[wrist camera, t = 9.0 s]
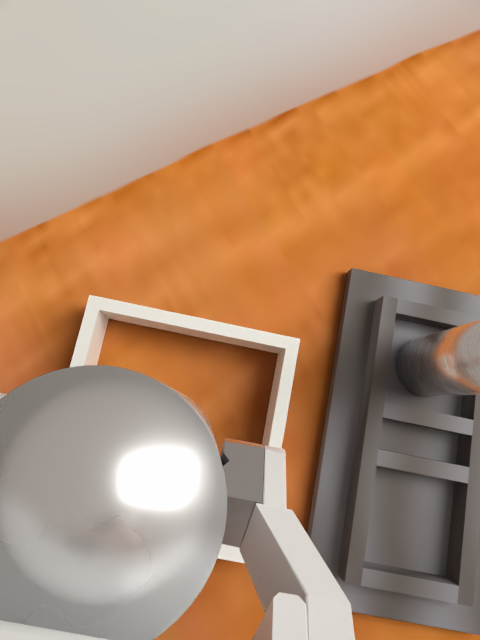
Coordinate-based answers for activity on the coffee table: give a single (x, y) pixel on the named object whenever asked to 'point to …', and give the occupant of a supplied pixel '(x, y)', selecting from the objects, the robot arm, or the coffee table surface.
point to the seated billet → (442, 362)
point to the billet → (106, 503)
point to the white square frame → (283, 345)
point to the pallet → (399, 464)
